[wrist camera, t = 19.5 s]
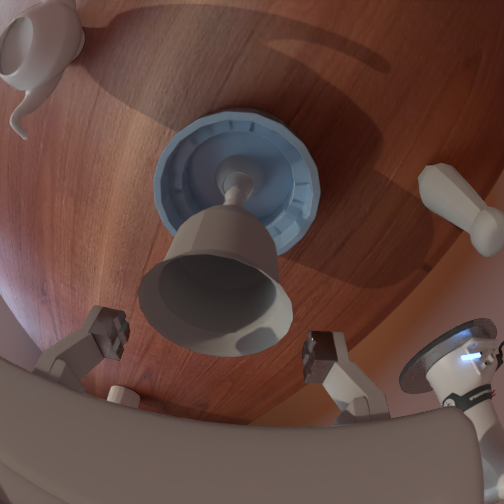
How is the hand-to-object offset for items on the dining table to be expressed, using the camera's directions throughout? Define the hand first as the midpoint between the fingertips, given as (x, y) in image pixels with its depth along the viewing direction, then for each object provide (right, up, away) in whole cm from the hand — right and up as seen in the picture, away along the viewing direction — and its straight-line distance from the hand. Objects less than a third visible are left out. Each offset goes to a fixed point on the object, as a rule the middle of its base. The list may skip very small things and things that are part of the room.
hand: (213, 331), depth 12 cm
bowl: (0, +11, +16) cm, 20 cm away
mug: (-31, -34, +49) cm, 67 cm away
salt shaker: (+23, +12, +15) cm, 30 cm away
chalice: (0, +11, +16) cm, 19 cm away
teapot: (-18, +26, +7) cm, 33 cm away
